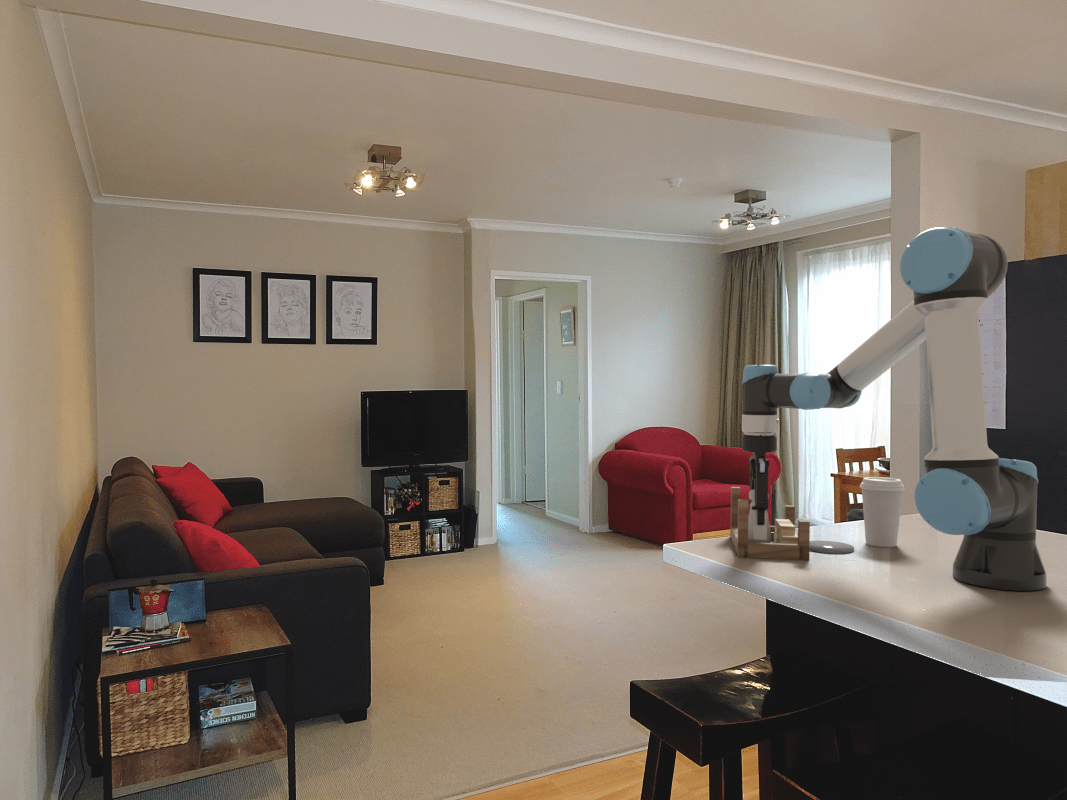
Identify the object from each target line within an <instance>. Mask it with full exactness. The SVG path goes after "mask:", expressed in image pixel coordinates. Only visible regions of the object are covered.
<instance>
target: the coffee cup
mask: <svg viewBox="0 0 1067 800" xmlns="http://www.w3.org/2000/svg"><path fill="white" fill-rule="evenodd" d="M862 478H863V479H862V482H860V484H859V488H860V489H861V495H862V496H861V497H862V510H863V521H864V523H863V524H864V535H865V536H864V538H865V544H866V545H868V546H872V547H878V548H895V547H897V545H898V536H899V529H900V528H899V527H900V521H901V520H900V519H901V510H902V500H903V493H904V491H905V490H906V488H905V485H904V484H903V482H902V480H901V479H899V478H894V477H880V476H879V477H878V476H868V477H867V476H866V477H862Z"/></svg>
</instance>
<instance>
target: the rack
mask: <svg viewBox="0 0 1067 800" xmlns="http://www.w3.org/2000/svg"><path fill="white" fill-rule="evenodd" d="M748 499H749V498H748ZM748 499H745V498H743V499H742V498H741V486H730V533H729V534H730V536H729V537H730V539H731V543H732V545H733V547H734V549H735V552H736V555H737V558H749V559H754V558H755V559H756V558H757V559H773V560H775V559H776V560H797V561H798V560H799V561H800V560H801V561H810V551H809V541H811V539H810V537H811V536H810V535H811V534H810V532H811V529H810V526H811V524H810V523H811V522H810V521H809V520H806V519H798V520H797V529H796V528H795V534H796V535H797V536H798V544H780V543H774V542H770V543H755V542H748V517H749V506H750V503H749V502H750V500H748ZM795 513H796V507H795V505H791V504H789V505H787V504H785V505H784V519H789V520H790V521H791V522H792V524H793V525H794V526H795V525H796V524H795V522H796V521H795V520H796V518H795V517H796V514H795ZM769 526H770V532H774V533H775V525H769ZM795 527H796V526H795ZM774 533H771V540H774Z"/></svg>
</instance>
